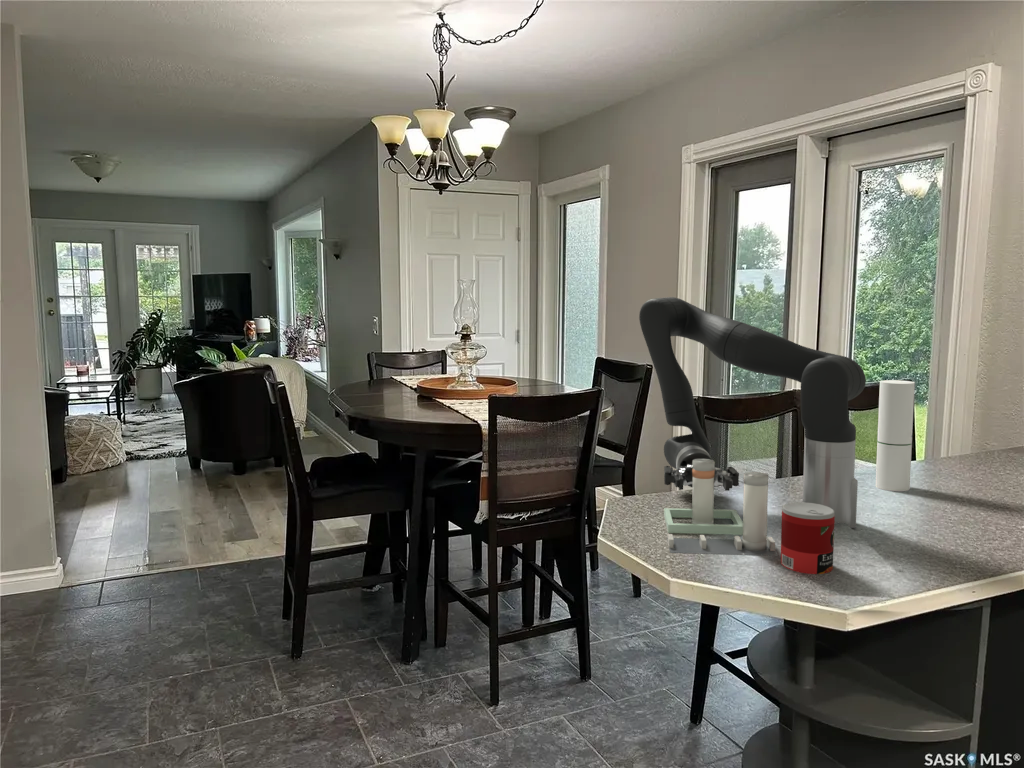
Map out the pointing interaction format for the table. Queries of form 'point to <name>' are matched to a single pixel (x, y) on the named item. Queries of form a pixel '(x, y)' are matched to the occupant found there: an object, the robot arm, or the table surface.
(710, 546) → the clip block
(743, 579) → the table surface
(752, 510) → the plain fuse
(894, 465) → the cylindrical container
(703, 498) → the cylinder
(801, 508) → the canned food
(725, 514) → the tray
